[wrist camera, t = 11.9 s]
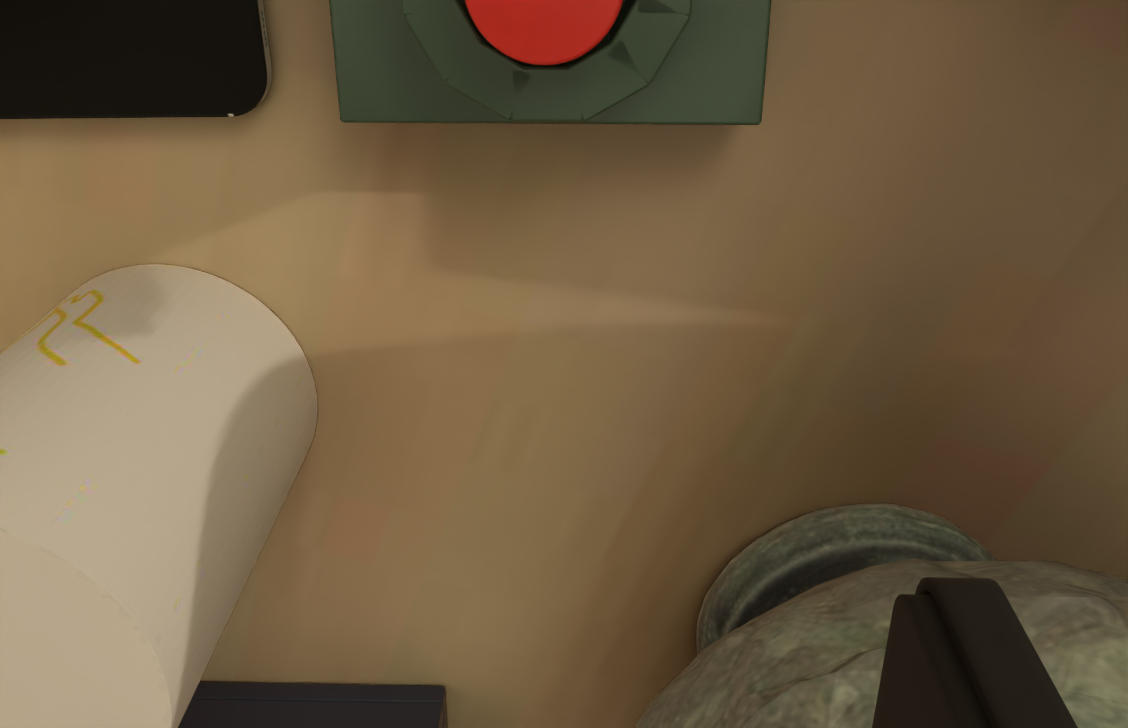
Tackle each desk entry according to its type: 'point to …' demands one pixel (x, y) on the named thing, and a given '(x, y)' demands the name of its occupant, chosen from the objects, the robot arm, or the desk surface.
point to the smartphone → (132, 58)
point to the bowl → (876, 623)
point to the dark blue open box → (315, 706)
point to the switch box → (552, 67)
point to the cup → (138, 490)
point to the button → (544, 27)
